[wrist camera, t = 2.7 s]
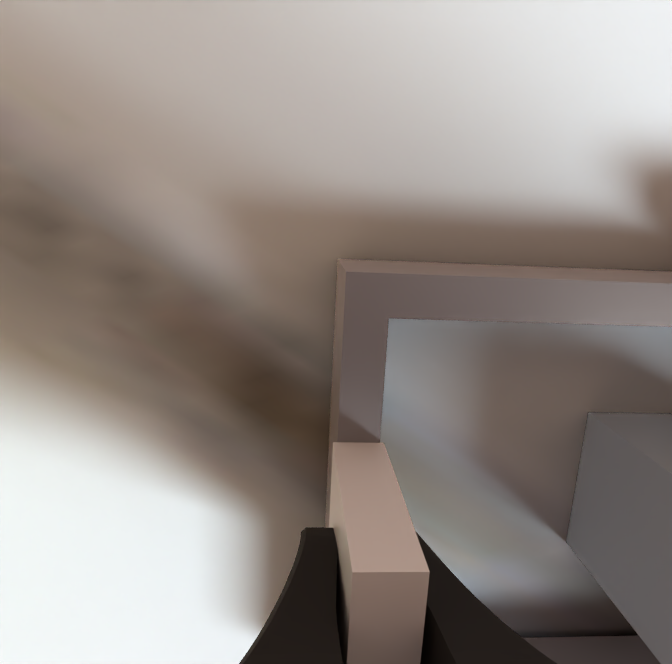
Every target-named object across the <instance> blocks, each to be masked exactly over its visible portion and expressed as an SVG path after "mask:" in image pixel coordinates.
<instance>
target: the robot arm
mask: <svg viewBox="0 0 672 664" xmlns="http://www.w3.org/2000/svg"><path fill="white" fill-rule="evenodd" d="M415 532H416V531H415ZM416 535H417V537H418V540H419V543H420V546H421V549H422V552H423V554H424V557H425V560H426V563H427V566H428V568H429V571H430V574H429V583H428V593H427V603H426V613H425V623H424V632H423V642H422V652H421V662H420V664H557V663H556V662H554V661H553V660H551V659H550V658H548V657H547V656H546V655H544V654H543V653H541V652H540V651H539V650H537V649H536V648H535V647H533V646H532V645H531V644H530V643H528V642H527V641H526V640H525V639H523V638H522V637H521V636H519V635H518V634H517V633H516V632H514V631H513V630H512V629H511V628H509V627H508V626H507V625H506V624H505V623H504V622H502V621H501V620H500V619H499V618H498V617H497V616H495V615H494V614H493V613H492V612H491V611H490V610H489V609H488V608H487V607H486V606H485V605H484V604H483V603H482V602H480V601H479V600H478V599H477V598H476V597H475V596H474V595H473V594H472V593H471V592H470V591H469V590H468V589H467V588H466V587H465V586H464V585H463V584H462V583H461V582H460V581H459V579H458V578H457V577H456V576H455V575H454V574H453V573H452V572H451V571H450V570H449V569H448V568H447V567H446V565H445V564H444V563H443V562H442V561H441V560H440V559H439V558H438V556H437V555H436V554H435V553H434V552H433V551H432V550H431V548H430V547H429V546H428V545H427V544H426V543H425V541H424V540H423V539H422V538H421V537H420V536H419V535H418V533H417V532H416ZM336 581H337V542H336V537H335V533H334V529H333V528H305V529H304V530H303V531H302V532H301V540H300V545H299V549H298V553H297V556H296V559H295V562H294V565H293V567H292V570H291V572H290V575H289V577H288V579H287V582H286V584H285V587H284V589H283V591H282V593H281V595H280V597H279V599H278V601H277V603H276V605H275V607H274V609H273V610H272V612H271V614H270V616H269V618H268V620H267V622H266V623H265V625H264V627H263V628H262V630H261V632H260V633H259V635H258V637H257V638H256V640H255V641H254V643H253V644H252V646H251V647H250V649H249V650H248V652H247V653H246V655H245V656H244V658H243V659H242V660H241V662H240V663H239V664H343V661H342V655H341V648H340V641H339V634H338V627H337V616H336Z"/></svg>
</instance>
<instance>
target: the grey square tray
mask: <svg viewBox="0 0 672 664" xmlns="http://www.w3.org/2000/svg"><path fill="white" fill-rule="evenodd" d="M389 318H397V319H431V320H464V321H497V322H531V323H564V324H597V325H631V326H664V327H672V271H646V270H620V269H594V268H568V267H543V266H517V265H491V264H465V263H439V262H413V261H388V260H362V259H337V279H336V300H335V321H334V343H333V364H332V385H331V407H330V428H329V449H328V471H327V492H326V514H325V528H333V529H334V533H335V537H336V542H337V581H336V616H337V627H338V634H339V641H340V648H341V655H342V661H343V664H420V662H421V652H422V642H423V632H424V623H425V613H426V603H427V593H428V583H429V574H430V571H429V568H428V566H427V563H426V560H425V557H424V554H423V552H422V549H421V546H420V543H419V540H418V537H417V535H416V532H415V529H414V526H413V523H412V521H411V518H410V515H409V512H408V509H407V506H406V504H405V501H404V498H403V495H402V492H401V490H400V487H399V484H398V481H397V478H396V475H395V473H394V470H393V467H392V464H391V461H390V459H389V456H388V453H387V450H386V447H385V444H384V443H380V432H381V418H382V404H383V390H384V376H385V362H386V348H387V334H388V320H389ZM523 639H525V640H526V641H527V642H528V643H530V644H531V645H532V646H533V647H535V648H536V649H537V650H539V651H540V652H541V653H543V654H544V655H546V656H547V657H548V658H550V659H551V660H553V661H554V662H556V663H557V664H661V663H660V662H659V661H658V660H657V658H656V657H655V656H654V654H653V653H652V652H651V651H650V649H649V648H648V647H647V645H646V644H645V643H644V642H643V640H642V639H641V638H640V636H592V637H538V638H523Z"/></svg>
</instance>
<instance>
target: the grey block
mask: <svg viewBox="0 0 672 664" xmlns="http://www.w3.org/2000/svg"><path fill="white" fill-rule="evenodd" d="M566 543H567V544H568V545H569V546H570V548H571V549H572V550H573V552H574V553H575V554H576V555H577V557H578V558H579V559H580V561H581V562H582V563H583V564H584V566H585V567H586V568H587V570H588V571H589V572H590V573H591V575H592V576H593V577H594V579H595V580H596V581H597V582H598V584H599V585H600V586H601V588H602V589H603V590H604V591H605V593H606V594H607V595H608V597H609V598H610V599H611V600H612V602H613V603H614V604H615V606H616V607H617V608H618V609H619V611H620V612H621V613H622V615H623V616H624V617H625V618H626V620H627V621H628V622H629V624H630V625H631V626H632V627H633V629H634V630H635V631H636V633H637V634H638V635H639V636H640V638H641V639H642V640H643V642H644V643H645V644H646V645H647V647H648V648H649V649H650V651H651V652H652V653H653V654H654V656H655V657H656V658H657V660H658V661H659V662H660V663H661V664H672V414H658V413H603V412H588V417H587V423H586V429H585V434H584V440H583V446H582V452H581V458H580V464H579V469H578V475H577V481H576V487H575V493H574V499H573V504H572V510H571V516H570V522H569V528H568V534H567V539H566Z"/></svg>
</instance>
